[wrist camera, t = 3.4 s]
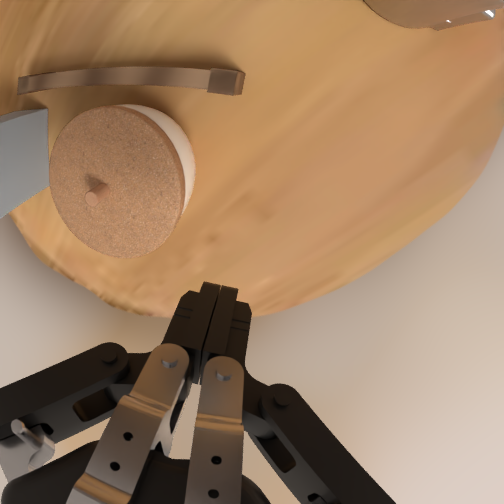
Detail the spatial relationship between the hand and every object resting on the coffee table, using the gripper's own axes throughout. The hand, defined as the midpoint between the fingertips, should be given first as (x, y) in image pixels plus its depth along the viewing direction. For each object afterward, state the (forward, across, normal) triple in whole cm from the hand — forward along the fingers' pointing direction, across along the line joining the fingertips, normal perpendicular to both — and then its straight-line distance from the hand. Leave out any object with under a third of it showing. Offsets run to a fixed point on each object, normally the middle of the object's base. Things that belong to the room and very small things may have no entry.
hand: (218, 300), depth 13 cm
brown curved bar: (+18, +15, -8) cm, 25 cm away
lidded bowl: (+18, +11, 0) cm, 21 cm away
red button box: (+18, +29, 0) cm, 34 cm away
